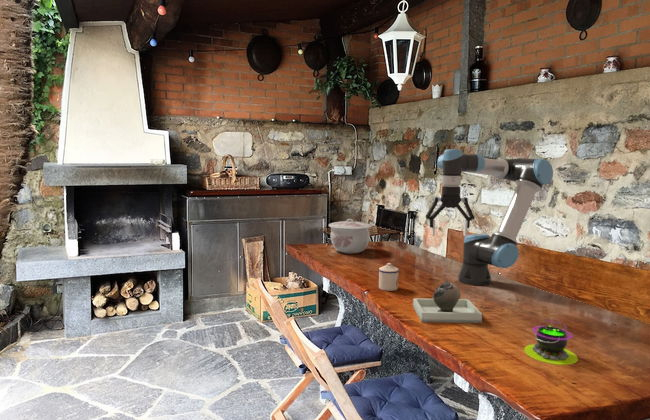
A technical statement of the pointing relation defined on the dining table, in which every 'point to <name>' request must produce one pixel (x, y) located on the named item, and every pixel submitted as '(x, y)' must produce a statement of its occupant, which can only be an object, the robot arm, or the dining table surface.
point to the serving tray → (460, 314)
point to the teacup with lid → (388, 277)
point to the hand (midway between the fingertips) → (449, 235)
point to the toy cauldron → (551, 346)
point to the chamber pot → (350, 236)
